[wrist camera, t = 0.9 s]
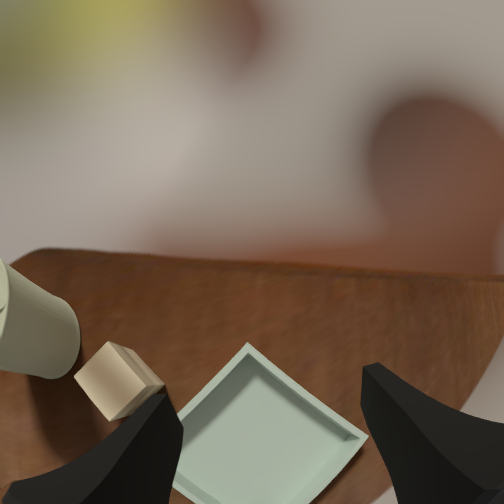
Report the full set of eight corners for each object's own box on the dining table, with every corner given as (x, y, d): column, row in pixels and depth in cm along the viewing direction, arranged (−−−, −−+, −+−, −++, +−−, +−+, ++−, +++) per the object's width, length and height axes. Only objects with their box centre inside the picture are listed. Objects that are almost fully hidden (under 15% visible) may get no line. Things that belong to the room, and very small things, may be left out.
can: (85, 379, 21) (4, 368, 10) (23, 377, 19) (-54, 360, 9) (79, 292, 25) (12, 238, 14) (21, 300, 23) (-45, 257, 13)
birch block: (134, 413, 20) (109, 421, 15) (104, 379, 21) (73, 376, 16) (165, 384, 22) (146, 385, 17) (133, 350, 23) (107, 341, 18)
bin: (258, 527, 16) (262, 541, 13) (144, 445, 19) (134, 453, 16) (354, 431, 21) (368, 436, 18) (245, 346, 24) (247, 342, 21)
